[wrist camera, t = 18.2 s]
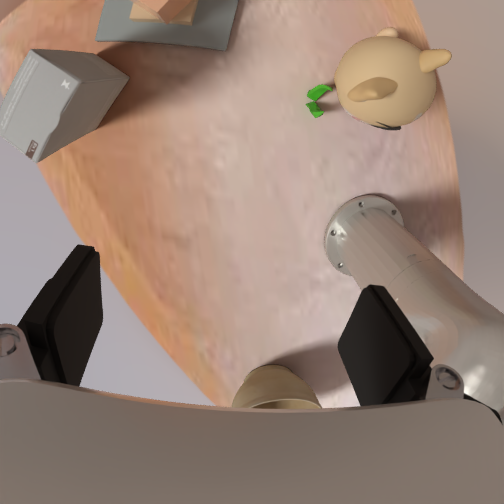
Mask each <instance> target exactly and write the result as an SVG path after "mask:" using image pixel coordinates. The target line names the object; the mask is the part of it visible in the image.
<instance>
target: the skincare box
mask: <svg viewBox="0 0 504 504" xmlns="http://www.w3.org/2000/svg"><path fill="white" fill-rule="evenodd" d="M128 80H129V76H127V75H126V74H124V73H123V72H121V71H120V70H118V69H117V68H115V67H114V66H112V65H111V64H109V63H108V62H106V61H105V60H103V59H102V58H100V57H98V56H97V55H95V54H93V53H85V52H75V51H63V50H46V49H30V51H29V53H28V54H27V56H26V58H25V60H24V61H23V63H22V65H21V67H20V69H19V70H18V72H17V74H16V76H15V78H14V80H13V82H12V84H11V86H10V88H9V90H8V92H7V94H6V96H5V98H4V101H3V103H2V105H1V107H0V136H1V137H2V138H4V139H5V140H6V141H8V142H9V143H10V144H11V145H13V146H14V147H15V148H16V149H18V150H19V151H20V152H22V153H23V154H25V155H26V156H27V157H28V158H30V159H31V160H32V161H33V162H35V163H38V162H40V161H41V160H43V159H45V158H46V157H48V156H49V155H51V154H53V153H54V152H56V151H58V150H59V149H61V148H62V147H64V146H66V145H68V144H70V143H71V142H73V141H75V140H77V139H79V138H81V137H82V136H84V135H86V134H88V133H90V132H92V131H94V130H96V128H97V127H98V125H99V124H100V122H101V120H102V119H103V117H104V116H105V114H106V113H107V111H108V109H109V108H110V106H111V105H112V103H113V102H114V100H115V99H116V97H117V96H118V95H119V93H120V92H121V90H122V89H123V87H124V86H125V84H126V83H127V82H128Z"/></svg>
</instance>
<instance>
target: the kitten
mask: <svg viewBox="0 0 504 504" xmlns="http://www.w3.org/2000/svg"><path fill="white" fill-rule="evenodd" d="M451 57H452V55H451V52H450V51H448V50H446V49H432V50H423V51H421V50H420V49H419V48H417V47H416V46H414V45H413V44H411V43H409V42H407V41H405V40H403V39H400V38H398V31H397V30H396V29H395V28H392V27H388V28H385V29H383V30H381V31H380V32H379V33H378V34H377V35H376V37H370V38H367V39H364V40H362V41H360V42H358V43H356V44H355V45H353V46H352V47H351V48H350V49H349V50H348V51H347V52H346V53H345V54H344V56H343V57H342V59H341V61H340V63H339V66H338V68H337V70H336V72H335V76H334V82H335V86H336V88H337V95H338V98H339V101H340V104H341V105H342V107H343V109H344V110H345V111H346V112H347V113H348V114H349V115H350V116H352V117H353V118H355V119H357V120H358V121H361V122H363V123H366V124H369V125H372V126H374V127H377V128H381V129H385V130H400V129H401V126H402V125H406V124H409V123H411V122H413V121H415V120H416V119H418V118H419V117H421V116H422V115H423V114H424V113H425V112H426V111H427V110H428V108H429V107H430V105H431V104H432V102H433V100H434V97H435V93H436V76H435V72H434V70H435V69H436V68H438V67H440V66H443V65H445V64H447V63H448V62H449V60H450V59H451ZM327 90H331V91H332V88H331V87H330V86H327V85H323V84H322V85H318V86H316V87H315V88H313V89H312V90H309V92H308V94H307V96H308V97H309V98H310V99H312V100H314V101H316V100H317V99H318V98H319V97H320V96H321V95H322V94H323V93H324V92H326V91H327ZM314 101H313V102H311V103H308V104H306V106H307V107H308V108H309V109H310V112H311V113H312V114H313V116H314V117H315V118H317V117H320V116H321V115H323V113H324V111H321V110H320V108H319V107H318V106H317V104H316V103H315V102H314ZM386 127H388V128H386Z"/></svg>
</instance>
